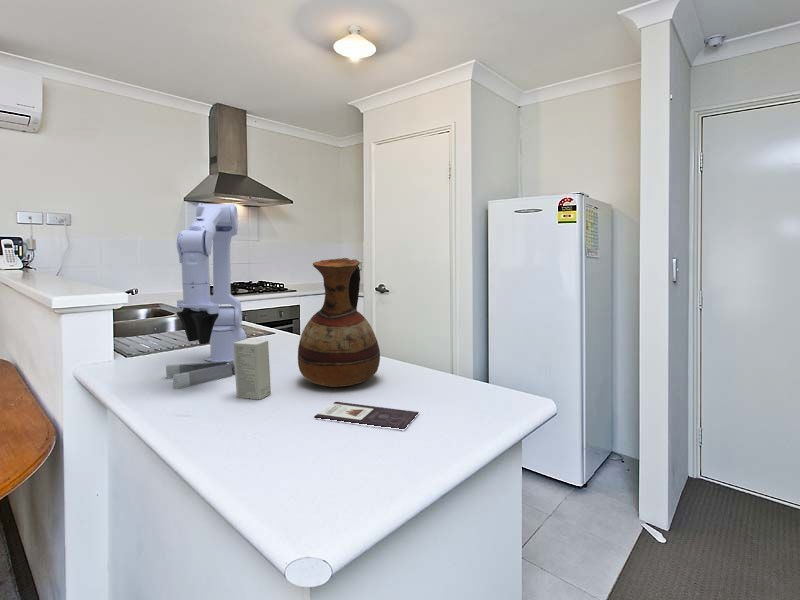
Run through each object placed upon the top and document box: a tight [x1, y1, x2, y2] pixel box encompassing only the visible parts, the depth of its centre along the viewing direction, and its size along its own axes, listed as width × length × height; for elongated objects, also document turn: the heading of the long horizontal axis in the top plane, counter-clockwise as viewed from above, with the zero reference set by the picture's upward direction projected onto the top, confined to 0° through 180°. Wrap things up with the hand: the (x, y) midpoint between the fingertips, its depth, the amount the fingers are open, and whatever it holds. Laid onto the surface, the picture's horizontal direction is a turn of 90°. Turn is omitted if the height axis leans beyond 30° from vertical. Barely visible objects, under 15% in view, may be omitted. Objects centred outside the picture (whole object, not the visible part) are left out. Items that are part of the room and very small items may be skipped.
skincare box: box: [233, 338, 272, 400], centre depth 101 cm, size 6×4×12 cm
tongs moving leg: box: [172, 362, 233, 390], centre depth 112 cm, size 14×2×3 cm, turn 142°
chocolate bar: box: [313, 401, 420, 429], centre depth 90 cm, size 9×1×18 cm
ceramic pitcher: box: [297, 257, 381, 388], centre depth 112 cm, size 20×20×30 cm
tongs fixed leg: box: [165, 360, 235, 379], centre depth 117 cm, size 18×3×3 cm, turn 110°
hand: (198, 342), depth 108 cm, fingers open, 4 cm apart
